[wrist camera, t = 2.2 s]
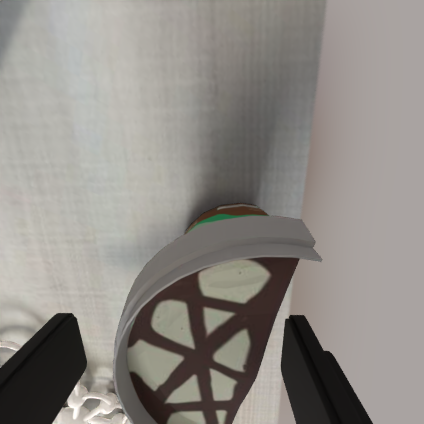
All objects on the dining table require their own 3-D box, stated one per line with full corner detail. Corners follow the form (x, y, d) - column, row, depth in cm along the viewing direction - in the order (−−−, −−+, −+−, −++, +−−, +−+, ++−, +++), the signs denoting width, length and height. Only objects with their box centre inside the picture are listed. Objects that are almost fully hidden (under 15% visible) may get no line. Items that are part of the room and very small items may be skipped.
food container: (181, 166, 15) (112, 190, 5) (261, 186, 15) (330, 242, 6) (156, 299, 19) (87, 457, 9) (221, 314, 19) (222, 485, 9)
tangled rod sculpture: (157, 372, 23) (146, 417, 19) (106, 453, 25) (87, 507, 21) (-18, 301, 20) (-74, 335, 16) (-54, 399, 23) (-110, 449, 19)
